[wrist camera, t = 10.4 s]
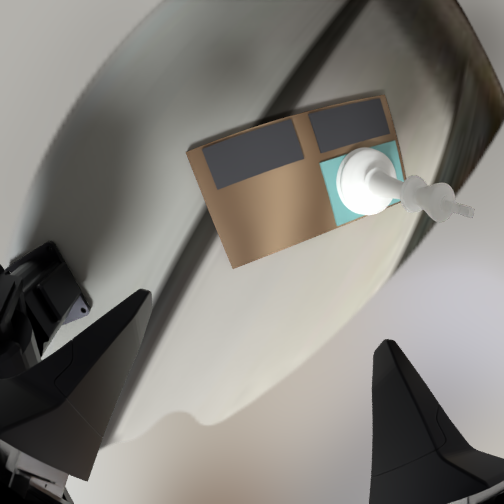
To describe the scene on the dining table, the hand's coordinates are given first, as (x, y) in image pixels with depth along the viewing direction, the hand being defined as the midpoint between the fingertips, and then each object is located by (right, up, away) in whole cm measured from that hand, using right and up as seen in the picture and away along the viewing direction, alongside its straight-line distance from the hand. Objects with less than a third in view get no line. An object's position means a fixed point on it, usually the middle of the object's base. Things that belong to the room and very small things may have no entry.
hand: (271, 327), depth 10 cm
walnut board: (+3, +8, +9) cm, 13 cm away
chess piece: (+7, +8, +9) cm, 14 cm away
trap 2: (-1, +9, +8) cm, 12 cm away
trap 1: (+6, +12, +8) cm, 15 cm away
